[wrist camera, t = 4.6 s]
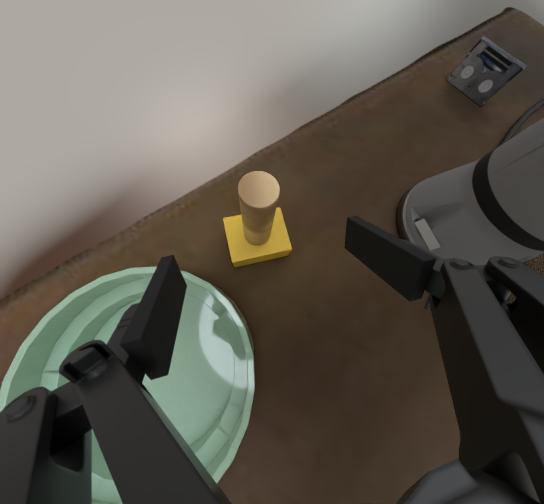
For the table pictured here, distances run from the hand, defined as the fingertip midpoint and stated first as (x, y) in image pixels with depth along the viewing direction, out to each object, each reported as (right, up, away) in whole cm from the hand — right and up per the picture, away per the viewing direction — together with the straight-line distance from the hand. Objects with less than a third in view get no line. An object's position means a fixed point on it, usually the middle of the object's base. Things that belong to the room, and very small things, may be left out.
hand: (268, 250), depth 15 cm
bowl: (-11, -12, +6) cm, 18 cm away
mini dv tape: (+37, +30, +22) cm, 53 cm away
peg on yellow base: (-2, +1, +11) cm, 11 cm away
